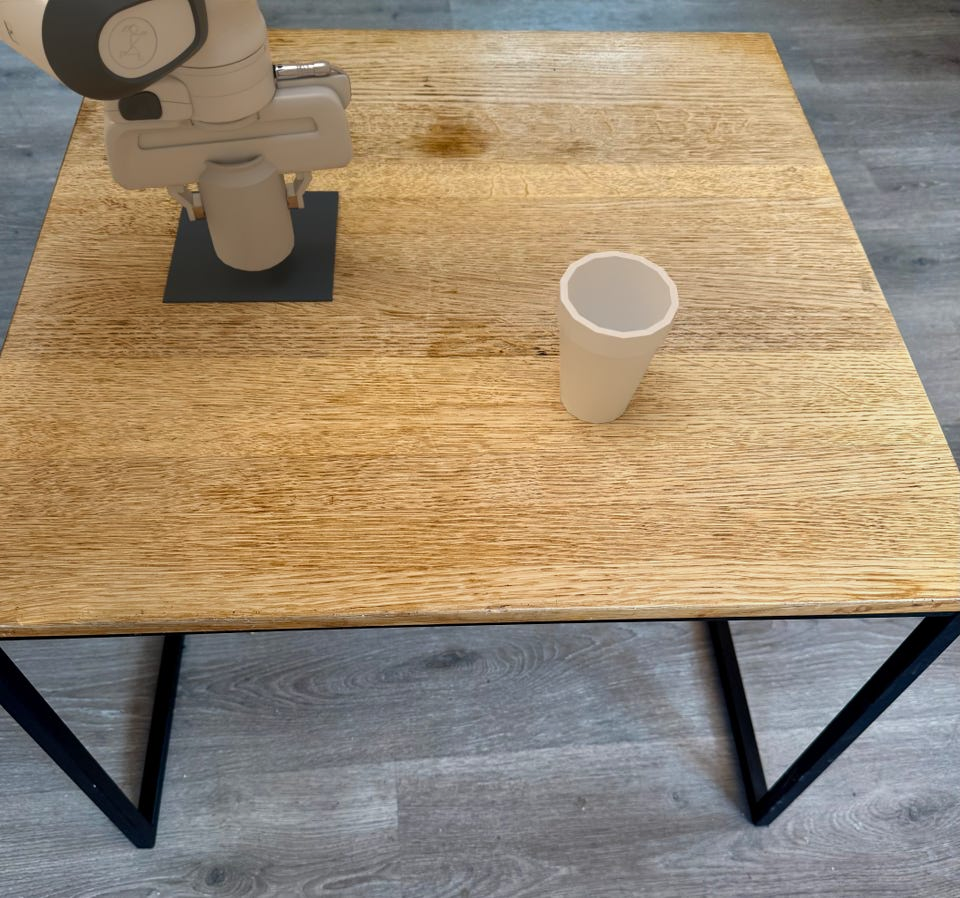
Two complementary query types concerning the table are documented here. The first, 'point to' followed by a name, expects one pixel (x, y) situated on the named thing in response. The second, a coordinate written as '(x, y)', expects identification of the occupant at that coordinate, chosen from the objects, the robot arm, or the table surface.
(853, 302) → the table surface
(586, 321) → the foam cup
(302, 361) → the table surface
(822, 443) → the table surface
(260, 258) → the can
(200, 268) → the mat
